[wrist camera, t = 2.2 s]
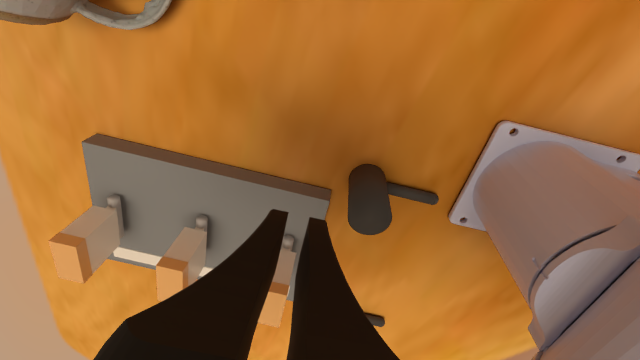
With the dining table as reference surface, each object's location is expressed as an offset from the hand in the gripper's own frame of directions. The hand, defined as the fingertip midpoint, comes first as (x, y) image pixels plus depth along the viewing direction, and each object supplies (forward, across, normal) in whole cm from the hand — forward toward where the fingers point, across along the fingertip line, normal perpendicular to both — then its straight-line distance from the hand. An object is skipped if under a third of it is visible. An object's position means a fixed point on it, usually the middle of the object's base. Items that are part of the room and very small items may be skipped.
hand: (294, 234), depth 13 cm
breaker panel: (+11, +7, +10) cm, 16 cm away
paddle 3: (+9, +13, +10) cm, 18 cm away
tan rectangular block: (+8, 0, +10) cm, 13 cm away
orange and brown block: (+8, +7, +10) cm, 14 cm away
